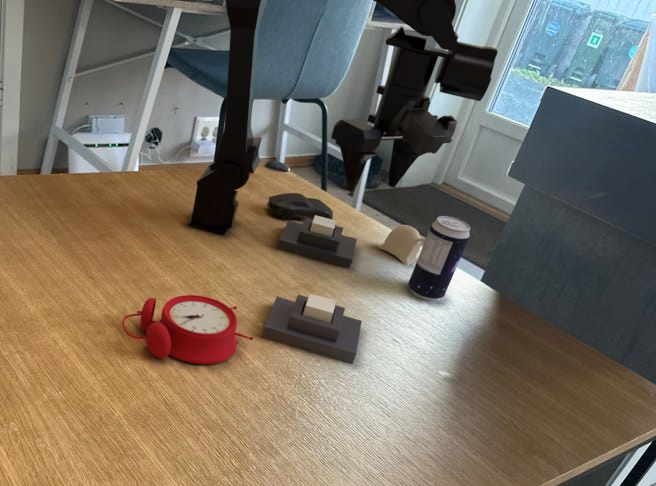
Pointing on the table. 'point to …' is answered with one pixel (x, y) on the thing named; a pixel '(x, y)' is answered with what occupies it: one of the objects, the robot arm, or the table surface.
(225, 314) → the alarm clock
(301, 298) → the front keypad
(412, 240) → the decorative ornament
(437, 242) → the beverage can
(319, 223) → the back key
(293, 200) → the toy car
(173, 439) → the table surface
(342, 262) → the back keypad
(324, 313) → the front key
